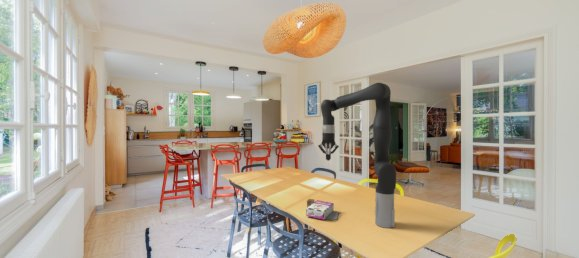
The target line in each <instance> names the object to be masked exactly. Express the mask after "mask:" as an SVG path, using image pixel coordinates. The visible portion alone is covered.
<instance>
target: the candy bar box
mask: <svg viewBox="0 0 579 258" xmlns="http://www.w3.org/2000/svg"><path fill="white" fill-rule="evenodd" d="M334 206H335V204H334V203H333V202H328V201H324V200H315V201H314V203H313V204H311V205H310V206H308V207H307V206H306V207H305V208H306V210H305V211H306V212H305V215H306V217H308V216H309V217H308V218H312V217H314V218H315V219H319V220H326V219H325V218H326V217H327V216H328V215H329V214H330V213H332V212H333V211H335V210H334ZM314 218H313V219H314Z"/></svg>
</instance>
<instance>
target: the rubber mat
mask: <svg viewBox="0 0 579 258" xmlns="http://www.w3.org/2000/svg"><path fill="white" fill-rule="evenodd" d="M339 214H340V211H335V210H333V212H332V213H330V214H329V215H328V216H327V217H326V218H325V219H324V220H329V221H337V220H338V217H339ZM307 217H308V218H310V217H309V216H307ZM311 218H313V219H314V217H311Z"/></svg>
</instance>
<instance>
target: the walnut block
mask: <svg viewBox="0 0 579 258" xmlns="http://www.w3.org/2000/svg"><path fill="white" fill-rule="evenodd" d="M314 202H315V199H312V198H308V199H307V200H306V208H307V207H308V206H310V205H311V204H313V203H314Z"/></svg>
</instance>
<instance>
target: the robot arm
mask: <svg viewBox="0 0 579 258" xmlns="http://www.w3.org/2000/svg"><path fill="white" fill-rule="evenodd" d="M370 100H371V101H374V102H375V115H374V119H373V123H372V134H373V146H374V166H373V167H374V168H373V170H374V173H375V175H376V176H377V185H376V186H375V207H374V208H375V210H374V212H375V213H374V215H375V217H374V218H375V219H374V220H375V225H376V226H379V227H382V228H385V229H386V228H387V229H389V228H395V212H396V210H395V191H396V190H395V189H396V188H397V187H396V186H397V183H396V182H397V170H396V167H395V166H394V165H393V164H392V163H391V161H390V154H389V151H390V147H391V142H392V137H393V136H392V135H393V133H392V132H393V131H392V119H391V118H392V117H391V108H390V107H391V106H390V105H391V88H390V86H388V85H387V84H385V83H383V82H375V83H373V84H370V85H368V86H366V87H364V88H362V89H360V90H357V91H355V92H350V93H347V94H343V95H340V96H338V97H336V98H335V99H323V100H322V102H321V104H320V110H321V115H322V116H321V117H322V132H321V135H322V136H321V137H322V138H321V143H320V144H318V145H317V146H318V148H319V149H320V150H321V152H322V153H323V154H324V155H325V160H326V161H330V160H331V159H332V157H331V156H332V155H333V154H334V153H335V152H336V151H337V149H338V148H339V144H337V143H336V141H335V139H336V138H335V137H336V136H335V135H336V134H335V133H336V129H335V128H336V127H335V116H334V115H332V113H333V112H335V111H339V110H340V109H344V108H348V107H352V106H354V105H357V104H358V103H361V102H366V101H370ZM332 149H333V150H332Z"/></svg>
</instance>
